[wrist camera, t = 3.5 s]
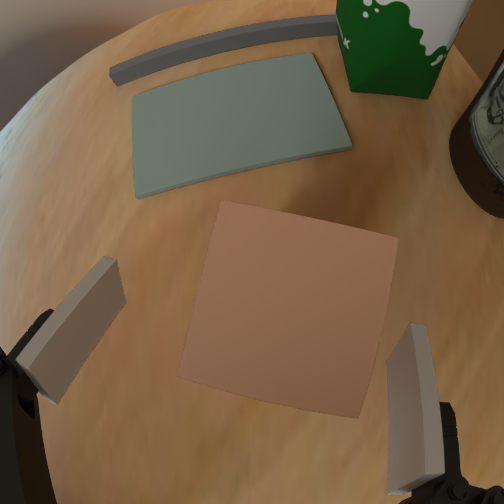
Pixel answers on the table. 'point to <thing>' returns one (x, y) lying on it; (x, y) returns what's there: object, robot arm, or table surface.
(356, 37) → the soya milk
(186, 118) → the facing board
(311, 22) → the rail
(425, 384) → the robot arm
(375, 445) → the table surface
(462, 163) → the olive oil
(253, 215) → the tea box
